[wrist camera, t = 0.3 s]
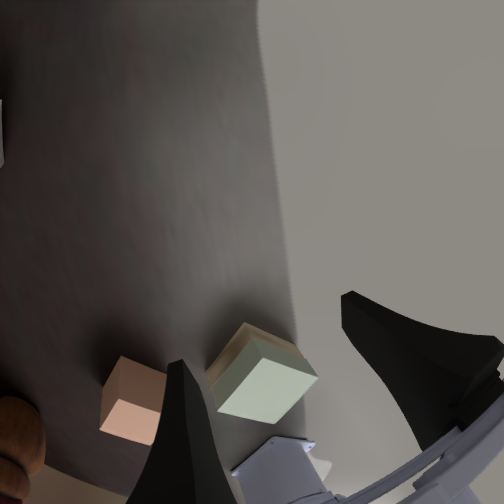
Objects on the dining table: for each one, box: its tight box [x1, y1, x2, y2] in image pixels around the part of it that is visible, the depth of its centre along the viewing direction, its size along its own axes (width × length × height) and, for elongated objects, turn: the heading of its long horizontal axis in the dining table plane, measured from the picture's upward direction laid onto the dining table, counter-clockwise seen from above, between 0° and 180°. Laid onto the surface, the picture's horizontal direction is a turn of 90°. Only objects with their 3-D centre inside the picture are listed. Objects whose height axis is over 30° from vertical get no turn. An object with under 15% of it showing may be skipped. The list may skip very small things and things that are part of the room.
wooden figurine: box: [0, 396, 45, 504], centre depth 14 cm, size 7×6×15 cm
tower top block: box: [211, 337, 319, 424], centre depth 23 cm, size 6×6×2 cm
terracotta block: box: [100, 356, 167, 445], centre depth 21 cm, size 4×4×5 cm
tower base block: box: [206, 322, 305, 389], centre depth 25 cm, size 6×6×2 cm
